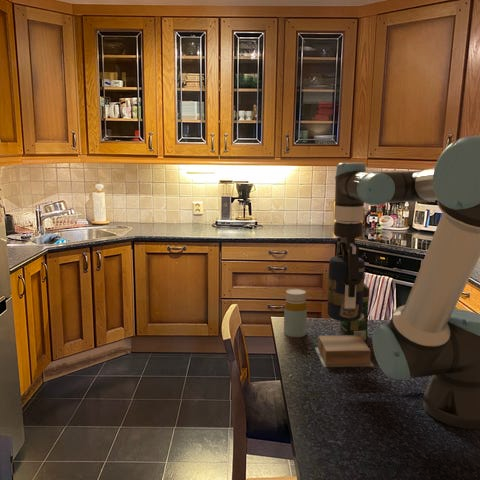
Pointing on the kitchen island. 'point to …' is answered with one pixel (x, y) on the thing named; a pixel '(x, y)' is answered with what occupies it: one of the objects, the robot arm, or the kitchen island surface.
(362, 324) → the coffee jar
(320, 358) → the board
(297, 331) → the bottle
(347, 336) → the base block
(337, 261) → the canister
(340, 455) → the kitchen island surface
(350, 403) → the kitchen island surface
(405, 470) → the kitchen island surface
